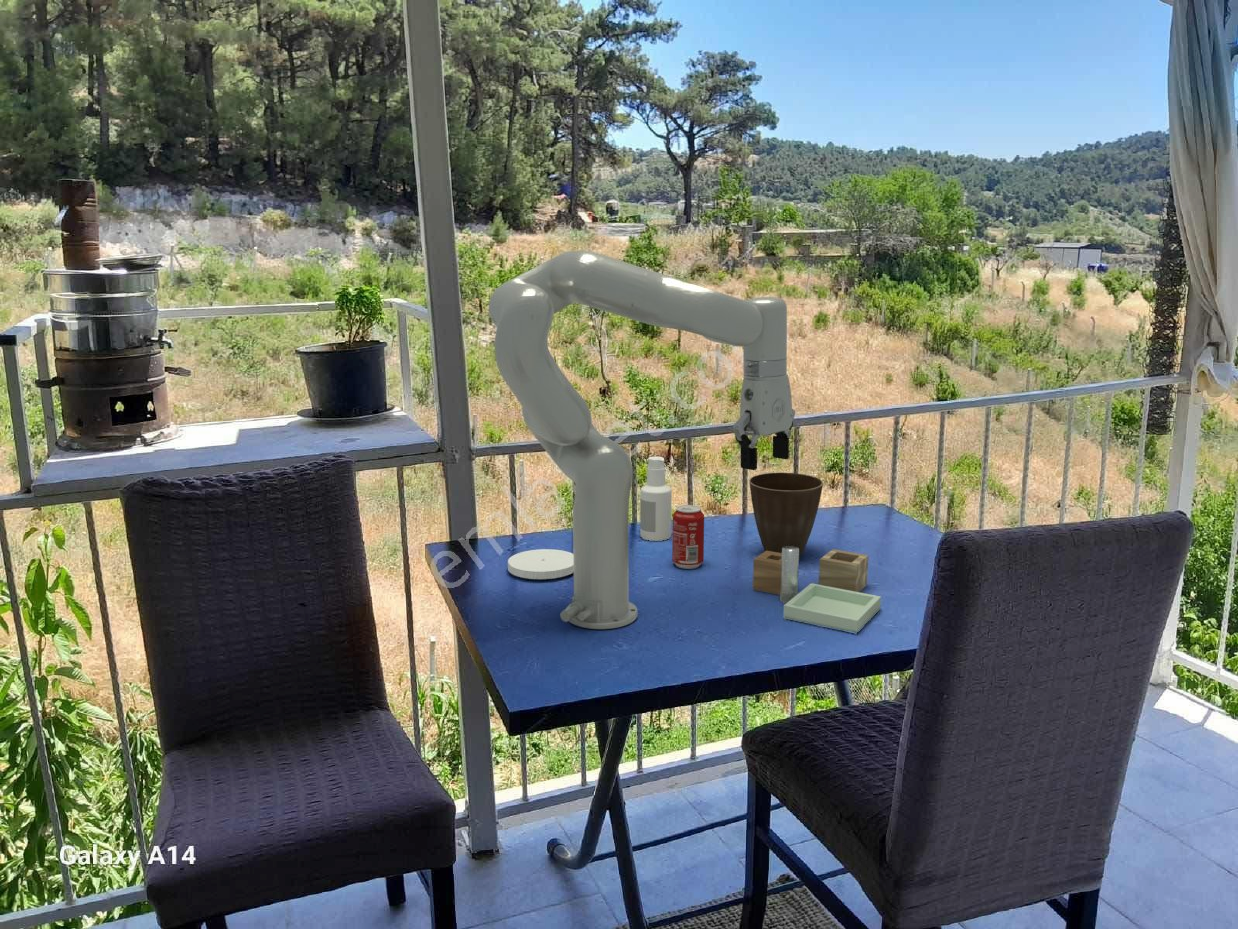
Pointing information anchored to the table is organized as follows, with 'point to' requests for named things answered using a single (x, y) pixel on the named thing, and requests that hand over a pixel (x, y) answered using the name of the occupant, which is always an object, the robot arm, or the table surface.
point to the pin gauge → (789, 573)
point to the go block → (843, 570)
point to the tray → (832, 607)
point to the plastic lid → (541, 564)
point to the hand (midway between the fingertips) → (765, 463)
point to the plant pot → (785, 508)
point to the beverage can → (688, 537)
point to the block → (767, 572)
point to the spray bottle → (655, 503)
